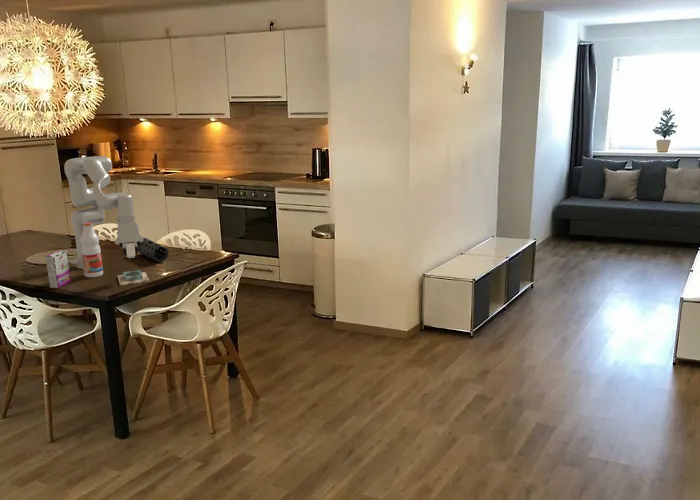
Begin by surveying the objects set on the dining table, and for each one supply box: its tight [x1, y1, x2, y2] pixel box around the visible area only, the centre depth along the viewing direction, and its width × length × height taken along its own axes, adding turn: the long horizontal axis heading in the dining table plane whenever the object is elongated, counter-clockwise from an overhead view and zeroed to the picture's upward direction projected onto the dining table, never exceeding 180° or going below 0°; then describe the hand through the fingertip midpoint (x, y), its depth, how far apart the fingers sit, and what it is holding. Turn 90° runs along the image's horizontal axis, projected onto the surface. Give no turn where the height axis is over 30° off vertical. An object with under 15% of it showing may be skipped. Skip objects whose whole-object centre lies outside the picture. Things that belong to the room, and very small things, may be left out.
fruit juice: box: [80, 222, 104, 278], centre depth 332 cm, size 9×9×28 cm
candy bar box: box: [45, 250, 72, 289], centre depth 317 cm, size 11×5×16 cm, turn 170°
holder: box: [116, 269, 150, 287], centre depth 325 cm, size 14×16×3 cm
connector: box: [125, 242, 137, 259], centre depth 322 cm, size 4×6×8 cm, turn 24°
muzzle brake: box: [137, 237, 170, 264], centre depth 365 cm, size 10×28×10 cm, turn 39°
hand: (130, 254), depth 322 cm, fingers closed on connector, 4 cm apart
